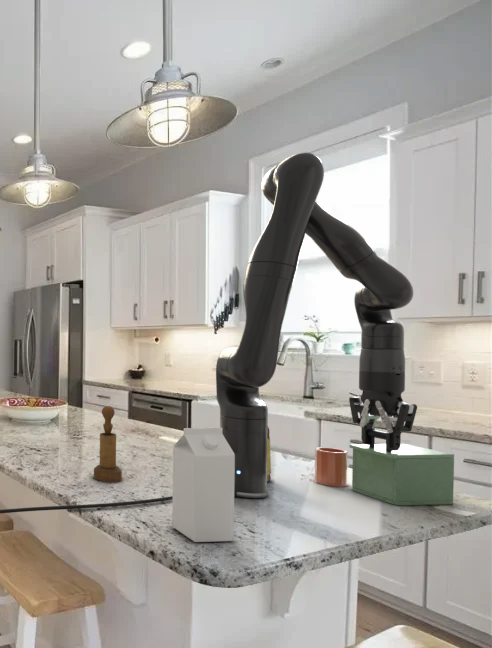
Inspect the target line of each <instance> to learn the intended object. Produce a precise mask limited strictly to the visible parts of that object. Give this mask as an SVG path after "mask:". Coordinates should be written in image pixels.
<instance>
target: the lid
mask: <svg viewBox="0 0 492 648" xmlns="http://www.w3.org/2000/svg"><path fill="white" fill-rule="evenodd" d="M386 433H388V431H387V432H386V431H381V430H376V429H375V430H372V429H369V430H368V431H367V435H368V436H369V445H365V444H363V443H361V444H357V443H356V444H349V448H350V449H352V450H353V449H357V450H361V451H365V452H369V453H373V454H377V455H381V456H385V457H389V458H393V459H398V458H454V459H455V454H454V453H450V452H445V451H441V450H436V449H431V448H427V447H422V446H417V445H413V444H408V443H400V448H399V449H398V450H397V451H391V450H387V449H386V443H375V440H376V439H379V440H383V441H384V440H385V441H386Z"/></svg>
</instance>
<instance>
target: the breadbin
mask: <svg viewBox="0 0 492 648" xmlns="http://www.w3.org/2000/svg"><path fill="white" fill-rule="evenodd" d="M351 472H352V475H351V476H352V477H351V479H352V480H351V483H352V484H351V490H352V491H354V492H357V493H360V494H363V495H365V496H367V497H371V498H373V499H376V500H379V501H382V502H385V503H389V504H391V505H393V506H432V505H435V506H437V505H439V506H440V505H453V504H454V484H455V483H454V482H455V481H454V479H455V457H454V458H398V459H393V458H389V457H385V456H381V455H377V454H373V453H369V452H365V451H361V450H357V449H353V448H352V471H351Z"/></svg>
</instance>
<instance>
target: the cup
mask: <svg viewBox="0 0 492 648" xmlns="http://www.w3.org/2000/svg"><path fill="white" fill-rule="evenodd" d="M314 482H316V483H317V484H320V485H324V486H327V487H328V486H329V487H336V488H337V487H338V488H340V487H341V488H343V487H346V486H347V485H348V451H347V450H345V449H342V448H335V447H327V446H326V447H325V446H323V447H322V446H320V447H315V449H314Z"/></svg>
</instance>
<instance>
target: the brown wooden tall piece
mask: <svg viewBox="0 0 492 648" xmlns="http://www.w3.org/2000/svg"><path fill="white" fill-rule="evenodd" d="M101 415H102V417H103V419H104V423H103V424H102V426H103V432H100V433H99V464H98V465H96V466H95V467H93V478H94V479H95V480H97V481H101V482H105V483H106V482H107V483H116V482H121V481H123V470H122V469H121V468H120V466H118V465H117V433H115V432H112V431H113V426H114V425H113V424H112V419H113V417H114V416H115V409H114V407H112V406H109V405H107V406H104V407H103V408H102V409H101Z"/></svg>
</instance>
